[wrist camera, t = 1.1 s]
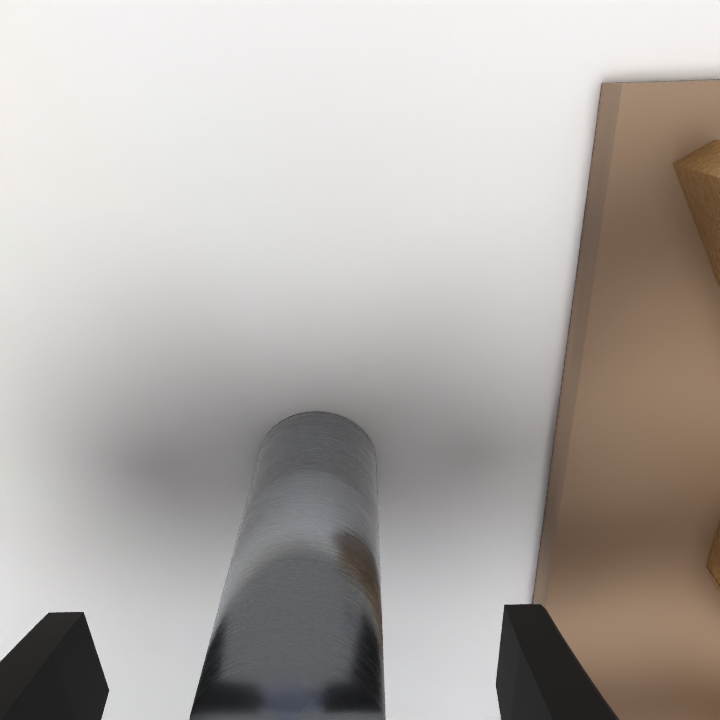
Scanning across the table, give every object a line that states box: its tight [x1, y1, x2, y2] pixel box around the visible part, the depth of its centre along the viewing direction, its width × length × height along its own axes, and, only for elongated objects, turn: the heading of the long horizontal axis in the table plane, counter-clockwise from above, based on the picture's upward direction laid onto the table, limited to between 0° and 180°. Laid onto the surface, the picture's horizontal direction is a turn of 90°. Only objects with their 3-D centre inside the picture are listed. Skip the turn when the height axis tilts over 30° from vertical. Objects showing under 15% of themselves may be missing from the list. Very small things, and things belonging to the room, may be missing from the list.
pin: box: [190, 412, 386, 720], centre depth 12 cm, size 3×3×7 cm
